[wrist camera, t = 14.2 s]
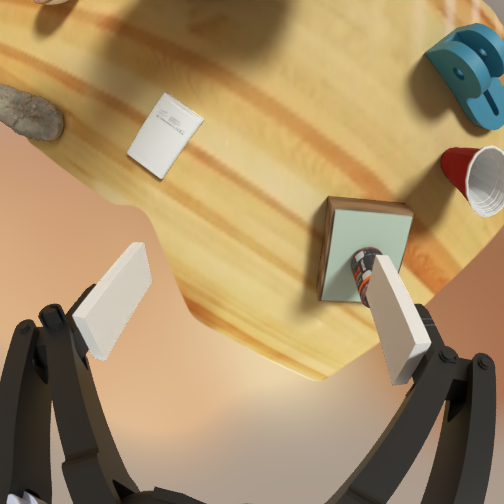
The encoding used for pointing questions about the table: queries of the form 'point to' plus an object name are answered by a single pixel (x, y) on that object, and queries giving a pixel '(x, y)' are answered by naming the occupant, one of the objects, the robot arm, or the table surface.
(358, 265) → the supplement bottle
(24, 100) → the elongated rock
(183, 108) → the external hard drive
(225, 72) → the table surface
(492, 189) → the plastic cup
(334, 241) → the walnut stand
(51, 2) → the lidded jar
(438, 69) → the camera mount
